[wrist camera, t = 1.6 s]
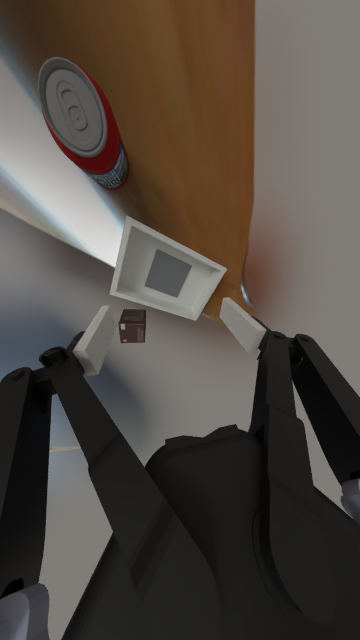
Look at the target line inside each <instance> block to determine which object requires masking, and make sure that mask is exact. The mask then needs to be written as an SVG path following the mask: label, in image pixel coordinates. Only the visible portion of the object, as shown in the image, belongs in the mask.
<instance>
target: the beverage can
mask: <svg viewBox="0 0 360 640" xmlns="http://www.w3.org/2000/svg"><path fill="white" fill-rule="evenodd" d="M38 94H39V100H40V104H41V107H42V111H43V115H44V118H45V121H46V124H47V126H48V129H49V131H50V133H51V135H52V137H53V138H54V140H55V142H56V143H57V145H58V146H59V148H60V149H61V150H62V151H63V153H64V154H65V155H66V156H67V157H68V158H69V159H70V160H71V161H73V162H74V163H75V164H76V165H77V166H78V167H79V168H80V169H82V170H83V171H84V172H85V173H86V174H87V175H89V176H90V177H91V178H92V179H93V180H95V181H96V182H97V183H98V184H100V185H101V186H103V187H105V188H107V189H112V190H114V189H118V188H120V187H122V186H123V185H124V183H125V182H126V180H127V177H128V171H129V166H128V159H127V155H126V152H125V148H124V145H123V142H122V139H121V136H120V133H119V130H118V127H117V124H116V121H115V118H114V115H113V112H112V109H111V107H110V104H109V102H108V100H107V98H106V96H105V94H104V93H103V91H102V89H101V88H100V87H99V85H98V84H97V83H96V81H95V80H94V79H93V78H92V77H91V76H90V75H89V74H88V73H87V72H86V71H85V70H84V69H82V68H81V67H79V66H78V65H76V64H74V63H73V62H71V61H69V60H67V59H65V58H61V57H53V58H50V59H48V60H46V61H45V62H44V64H43V65H42V67H41V69H40V71H39V76H38Z"/></svg>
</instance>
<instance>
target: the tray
mask: <svg viewBox="0 0 360 640" xmlns="http://www.w3.org/2000/svg"><path fill="white" fill-rule="evenodd" d="M226 270H227V269H226V268H225V267H223V266H221V265H219V264H217V263H215V262H213V261H211V260H210V259H208V258H206V257H204V256H202V255H200V254H198V253H196V252H195V251H193V250H191V249H189V248H187V247H185V246H183V245H181V244H180V243H178V242H176V241H174V240H172V239H170V238H168V237H166V236H165V235H163V234H161V233H159V232H157V231H155V230H153V229H151V228H149V227H148V226H146V225H144V224H142V223H140V222H138V221H136V220H134V219H133V218H131V217H129V216H126V221H125V226H124V230H123V235H122V239H121V244H120V249H119V253H118V258H117V263H116V267H115V272H114V276H113V282H112V286H111V290H110V295H113V296H117V297H120V298H123V299H127V300H130V301H133V302H136V303H140V304H143V305H146V306H149V307H152V308H156V309H159V310H162V311H166V312H169V313H172V314H175V315H178V316H182V317H185V318H188V319H191V320H195V321H196V320H197V318H198V317H199V315H200V313H201V312H202V310H203V308H204V307H205V305H206V303H207V302H208V300H209V298H210V297H211V295H212V293H213V292H214V290H215V288H216V287H217V285H218V283H219V282H220V280H221V278H222V277H223V275H224V273H225V272H226Z"/></svg>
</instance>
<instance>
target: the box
mask: <svg viewBox="0 0 360 640" xmlns="http://www.w3.org/2000/svg"><path fill="white" fill-rule="evenodd" d="M118 324H119V334H120V340H121V343H130V342H131V343H136V342H145V329H146V310H133V309H132V310H131V309H124V310H123V313H122V315H121V318H120V321H119V323H118Z"/></svg>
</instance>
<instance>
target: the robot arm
mask: <svg viewBox="0 0 360 640" xmlns="http://www.w3.org/2000/svg"><path fill="white" fill-rule="evenodd" d="M220 318H221V319H222V321H223V322H224V323H225V325H226V326H227V327H228V328H229V330H230V331H231V332H232V333H233V335H234V336H235V337H236V339H237V340H238V341H239V342H240V344H241V345H242V346H243V348H244V349H245V350H246V351H247V353H248V354H253V353H256V352H257V349H259V350H260V351H261V352H260V354H259V356H258V358H257V360H258V359H259V362H258V370H257V379H256V386H255V395H254V402H253V411H252V419H251V425H250V428H249V431H248V432H246V431H243V430H240V429H238V428H237V425H236V424H234V425H229V426H225V427H220V428H218V429H217V430H215V431H213V432H212V433H210V434H209V435H207V436H206V437H203V438H202V437H193V436H184V435H183V436H179V437H174V438H170V439H166V440H165V442H166V444H165V445H164V446H162V447H161V448H159V449H158V450H157V451H156V452H155V453H154V454H153V455H152V457H151V458H150V459H149V461H148V462H147V464H146V466H145V468H144V466H143V465H142V463H141V462H140V460H139V459H138V457H137V456H136V454H135V453H134V451H133V450H132V448H131V447H130V445H129V444H128V443H127V441H126V439H125V438H124V436H123V435H122V434H121V432H120V431H119V429H118V428H117V426H116V425H115V423H114V422H113V420H112V419H111V417H110V416H109V414H108V413H107V411H106V410H105V408H104V407H103V406H102V404H101V402H100V401H99V399H98V398H97V396H96V395H95V393H94V392H93V390H92V389H91V387H90V386H89V384H88V383H87V382H86V380H85V379H84V377H83V374H84V372H85V373H86V374H87V376H92V375H98V374H99V371H100V368H101V366H102V363H103V360H104V357H105V355H106V352H107V349H108V347H109V344H110V341H111V338H112V336H113V333H114V330H115V328H116V324H115V321H114V318H113V315H112V311H111V308H110V306H102V307H101V309H100V310H99V312H98V314H97V315H96V316H95V318H94V319H93V321H92V322H91V324H90V325H89V327H88V328H87V330H86V331H82V332H80V333H79V334H77V335H76V336H75V337H74V339H73V341H72V342H71V343H70V344H69V346H68V347H67V349H66V350H65V348H63V347H54V348H51V349H49V350H47V351H45V352H44V353H42V354H41V355H40V357H39V361H40V362H41V363H42V364H43V365H44V368H40V369H38V370H34V371H32V370H31V369H30V368H29V367H23V368H19V369H16V370H14V371H12V372H11V373H9V374H7V375H6V376H5V377H4V378H3V379H2V380H1V382H0V640H50V639H49V635H48V628H47V624H48V611H49V594H48V590H47V588H46V587H45V585H43V584H40V583H38V582H39V576H40V570H41V565H42V559H43V551H44V541H45V527H46V505H47V486H48V485H47V484H48V465H49V443H50V423H51V401H52V395H54V394H56V393H57V394H58V397H59V399H60V401H61V403H62V406H63V408H64V410H65V412H66V415H67V417H68V419H69V421H70V424H71V426H72V428H73V430H74V433H75V435H76V437H77V440H78V442H79V444H80V446H81V449H82V451H83V453H84V455H85V457H86V460H87V462H88V466H89V467H88V472H89V476H90V478H91V481H92V483H93V485H94V488H95V490H96V492H97V495H98V497H99V499H100V502H101V504H102V507H103V509H104V511H105V513H106V516H107V518H108V520H109V523H110V525H111V527H112V530H113V533H112V535H111V537H110V540H109V542H108V544H107V546H106V548H105V550H104V552H103V554H102V556H101V558H100V560H99V562H98V565H97V566H96V569H95V571H94V573H93V575H92V577H91V579H90V581H89V583H88V585H87V587H86V589H85V591H84V593H83V595H82V598H81V599H80V602H79V604H78V606H77V608H76V610H75V612H74V614H73V616H72V618H71V620H70V622H69V624H68V626H67V628H66V630H65V633H64V635H63V637H62V639H61V640H360V397H359V396H358V395H357V393H356V392H355V391H354V390H353V388H352V387H351V386H350V385H349V383H348V382H347V381H346V380H345V378H344V377H343V376H342V375H341V373H340V372H339V371H338V369H337V368H336V367H335V366H334V364H333V363H332V362H331V361H330V359H329V358H328V357H327V356H326V354H325V353H324V352H323V350H322V349H321V348H320V347H319V345H318V344H317V343H316V342H315V341H314V340H313V338H311V337H309V336H307V335H304V334H296V336H295V337H294V338H288V337H286V336H285V335H284V334H282V333H280V332H276V331H271V330H270V329H269V328H268V327H266V326H265V325H264V324H263V323H262V322H260V321H259V320H258V319H257V318H255V317H253V316H250V315H249V314H248V313H246V312H245V311H244V310H243V309H242V308H241V307H239V306H238V305H237V304H236V303H235V302H234V301H233V300H231V299H230V298H229V297H228V298H223V302H222V307H221V312H220ZM292 381H293V383H294V385H295V387H296V390H297V392H298V395H299V397H300V399H301V401H302V404H303V406H304V408H305V411H306V413H307V415H308V418H309V420H310V422H311V425H312V427H313V429H314V432H315V434H316V436H317V439H318V441H319V443H320V445H321V448H322V450H323V453H324V455H325V457H326V459H327V461H328V463H329V465H330V467H331V469H332V471H333V473H334V475H335V476H336V478H337V480H338V482H339V483H340V485H341V487H342V493H343V496H341V503H342V506H343V507H344V509H345V510H346V512H347V513H348V514H349V515H350V516H351V517H352V518H353V519H352V518H351V517H350V516H349V515H348V514H346V513H345V512H344V511H343V510H342V509H341V508H339V507H338V506H337V505H336V504H335V503H334V502H332V501H331V500H330V499H329V498H328V497H326V496H325V495H324V494H323V493H322V492H321V491H319V490H318V489H317V488H316V487H315V486H314V485H313V480H312V473H311V467H310V460H309V454H308V447H307V440H306V434H305V427H304V424H303V422H302V420H300V419H298V418H297V417H296V409H295V401H294V393H293V384H292Z"/></svg>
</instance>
